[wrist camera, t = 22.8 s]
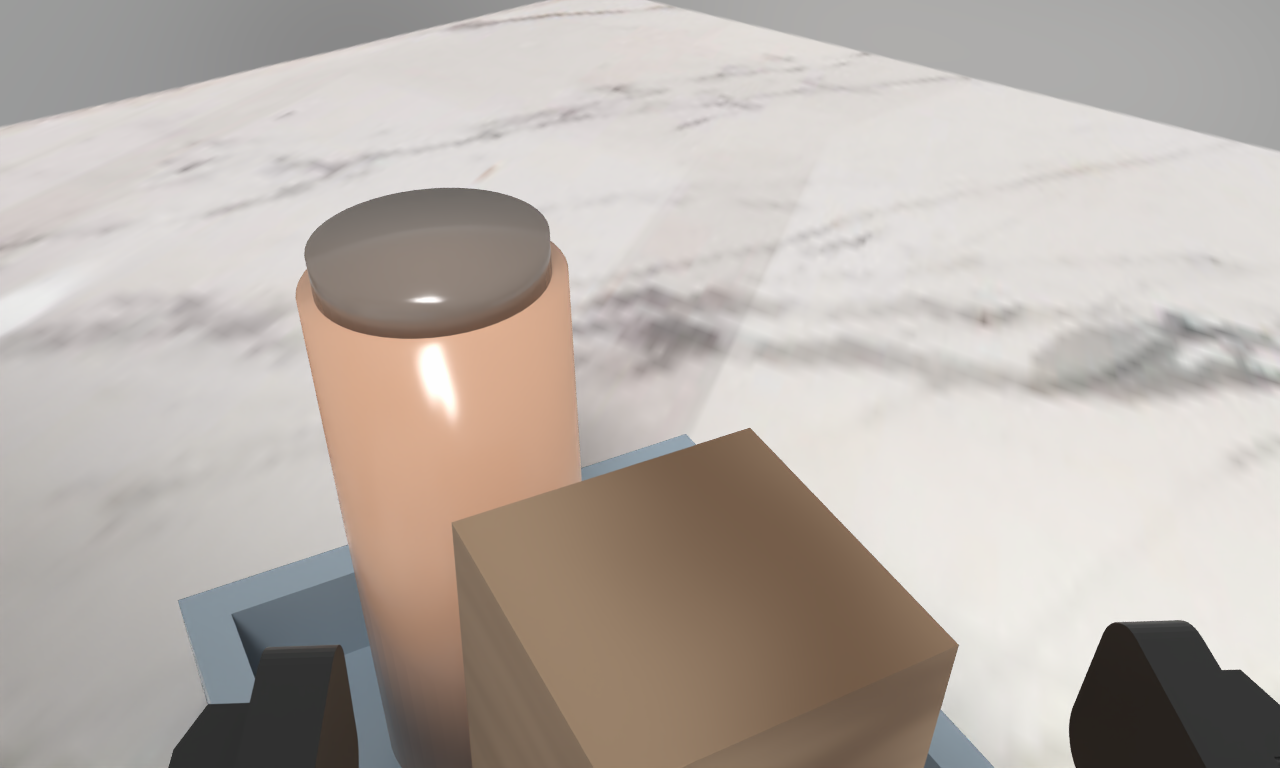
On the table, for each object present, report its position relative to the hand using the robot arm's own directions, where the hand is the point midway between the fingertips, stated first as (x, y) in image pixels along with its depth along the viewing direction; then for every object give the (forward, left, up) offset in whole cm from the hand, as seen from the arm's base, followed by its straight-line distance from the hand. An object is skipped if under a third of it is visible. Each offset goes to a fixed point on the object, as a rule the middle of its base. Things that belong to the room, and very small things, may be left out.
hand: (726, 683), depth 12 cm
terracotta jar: (+1, +11, -13) cm, 17 cm away
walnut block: (+1, +3, -14) cm, 14 cm away
